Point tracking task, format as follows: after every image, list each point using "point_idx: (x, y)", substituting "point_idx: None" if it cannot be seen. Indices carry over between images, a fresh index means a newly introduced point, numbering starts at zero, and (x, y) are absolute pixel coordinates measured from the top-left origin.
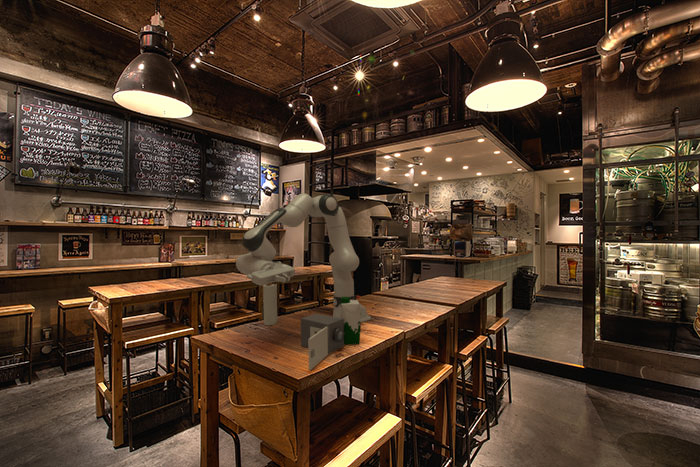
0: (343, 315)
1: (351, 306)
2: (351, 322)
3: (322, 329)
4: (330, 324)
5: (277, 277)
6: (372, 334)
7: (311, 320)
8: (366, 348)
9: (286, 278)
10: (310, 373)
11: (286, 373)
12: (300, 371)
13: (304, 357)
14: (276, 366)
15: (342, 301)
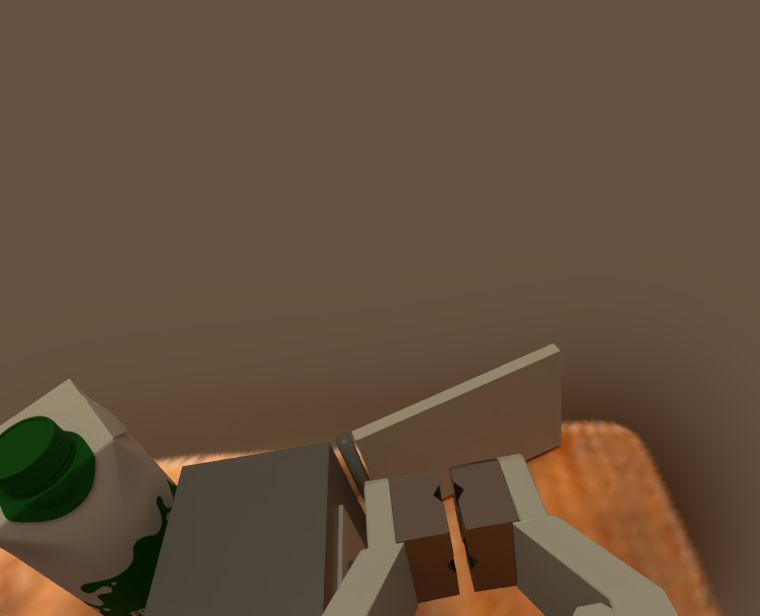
0: (145, 481)
1: (100, 409)
2: (158, 466)
3: (402, 418)
4: (307, 448)
5: (639, 585)
6: (26, 567)
7: (315, 606)
8: (222, 458)
9: (460, 466)
10: (565, 429)
11: (663, 496)
12: (593, 470)
13: (488, 593)
14: (685, 610)
15: (66, 454)
